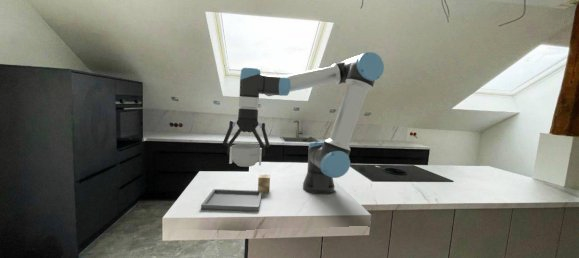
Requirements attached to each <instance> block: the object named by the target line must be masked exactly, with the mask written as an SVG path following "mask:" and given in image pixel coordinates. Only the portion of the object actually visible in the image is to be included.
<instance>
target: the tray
mask: <svg viewBox="0 0 579 258" xmlns="http://www.w3.org/2000/svg"><path fill="white" fill-rule="evenodd" d="M262 196H263V193H262V191H258V190H254V189H251V190H250V189H249V190H247V189H246V190H245V189H226V188H225V189H224V188H223V189H222V188H213V189H212V191H211V192H210V193H209V194H208V196H207V197H206V198H205V200H203V202H202V203H201V205H200V211H201V210H204V211H207V210H208V211H209V210H210V211H228V212H229V211H231V212H235V211H236V212H259V211H260V206H261V201H262Z"/></svg>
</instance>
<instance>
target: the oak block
mask: <svg viewBox="0 0 579 258" xmlns="http://www.w3.org/2000/svg"><path fill="white" fill-rule="evenodd" d="M257 182H258V183H257V191H262V194H270V188H271V185H270V184H271V174H259V175H258V179H257Z"/></svg>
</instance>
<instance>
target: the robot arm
mask: <svg viewBox="0 0 579 258" xmlns="http://www.w3.org/2000/svg"><path fill="white" fill-rule="evenodd" d="M384 65H385V63H384V61H383V59H382V57H381V56H380V55H379V54H378V53H376V52H374V51H373V52H372V51H365V52H362V53H360V54H357V55H355V56H352V57H350V58H346V59H345V60H343V61H340V62H336V63H333V64H331V66H328V67H323V68H322V67H321V68H317V69H311V70H306V71H302V72H301V71H300V72H297V73H291V74H286V75H278V76H277V75H269V74H262V73H261V69H260V68H257V67H249V66H248V67H243V68H241V69H240V78H239V94H238V95H239V96H238V107H240V108H238V115H237V116H238V118H237V120H229V125H228V129H227V131H226V134H225V137H224V139H223V142H222V145H223V146H225V147H227V149H226V155H228V156H229V160H228V161H229V162H228V164H232V163H233V158H232V145H234V142H235V141H236V140H237V138H238V137H239V136H240V134H241V133H242V132H243V133H252V134H253V135H254V137H255V139H256V140H257V142H258V145H260V155H259V161H258V166H262V158H264V157H265V151H266V149H268V148H270V141H269V138H268V134H267V130H266V123H265V122H259V120H258V117H259V110H258V108H259V104H260V103H259V97H260V94H261V95H265V96H266V97H273V96H281V97H283V96H285V97H286V96H288V95H289V94H290V93H291V92H296V91H300V90H305V89H310V88H311V89H312V88H316V87H320V86H324V85H329V84H335V85H340V84H346V85H347V86H346V89H345V92H344V95H343V97H342V99H341V100H342V101H341V103H340V106H339V109H338V112H337V115H336V118H335V120H334V122H333V123H334V124H333V126H332V128H331V132H330V134H329V135H330V136H329V137H328V138H327V139H324V141H311V142H310V143H308V153H307V154H308V155H307V157H308V158H307V172H306V175H305V178H304V181H303V183H302V188H303V190H304V191H306V192H308V193H311V194H316V195H318V194H319V195H327V194H333V193H334V192H335V183H334V182H335V181H334V178H335V179H337V178H341V177H343V176H344V175H346V174H347V173H348V171H349V170H350V168H351V167H350V166H351V160H350V153H351V147H350V145H349V144H350V141H351V139H352V136H353V133H354V130H355V128H356V124H357V123H358V122H357V121H358V119H359V116H360V113H361V110H362V107H363V104H364V101H365V98H366V97H367V93H368V91H370V90H373V87H374V84H375V82H376V81H377V80H378V79H381V76H383V74H384V71H385V66H384ZM236 125H237V127H238V129H237V131H236V132H235V133H234V135H233V137H232V138H231V139H230V137H231V134H232V131H233V129H234V127H235V126H236ZM257 127H259V128H260V129H261V132H262V136H263V140H264V142H263V140H262V138H261V136H260V134H259V133H258V131H257ZM229 139H230V141H229Z"/></svg>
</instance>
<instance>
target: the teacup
mask: <svg viewBox="0 0 579 258" xmlns="http://www.w3.org/2000/svg"><path fill="white" fill-rule="evenodd" d="M231 146H232V158H233V160H232V163H234V164H236V165H237V166H238V167H244V168H247V167H248V168H249V167H253V166H255V165H256V164H257V163H259V155H260V148H261V146H260V144H259V143H258V144H256V143H249V142H248V143H236V144H232V145H231Z"/></svg>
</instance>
